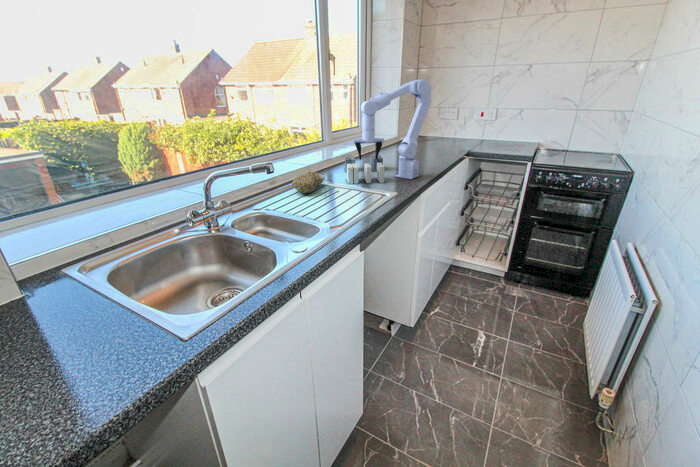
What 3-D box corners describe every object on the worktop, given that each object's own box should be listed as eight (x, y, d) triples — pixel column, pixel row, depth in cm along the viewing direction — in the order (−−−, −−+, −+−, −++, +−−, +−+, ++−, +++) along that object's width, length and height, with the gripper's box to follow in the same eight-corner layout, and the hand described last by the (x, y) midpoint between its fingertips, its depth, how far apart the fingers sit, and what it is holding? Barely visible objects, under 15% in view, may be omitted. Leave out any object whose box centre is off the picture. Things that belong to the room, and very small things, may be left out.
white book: (368, 178, 161) (369, 162, 158) (371, 183, 153) (371, 167, 150) (364, 178, 161) (364, 163, 158) (366, 183, 153) (366, 167, 150)
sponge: (305, 185, 156) (280, 187, 138) (309, 169, 153) (283, 169, 136) (329, 193, 151) (306, 196, 133) (333, 177, 149) (310, 178, 131)
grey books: (379, 167, 183) (380, 155, 181) (382, 170, 175) (382, 158, 172) (345, 168, 182) (344, 156, 179) (346, 172, 174) (346, 159, 171)
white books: (381, 177, 162) (381, 162, 159) (384, 182, 154) (384, 166, 151) (347, 178, 161) (346, 163, 158) (348, 183, 153) (348, 167, 149)
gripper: (382, 127, 154) (382, 156, 160) (351, 128, 153) (352, 157, 159) (385, 129, 148) (384, 159, 154) (353, 130, 147) (353, 160, 153)
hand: (368, 159), depth 156 cm, fingers open, 7 cm apart
